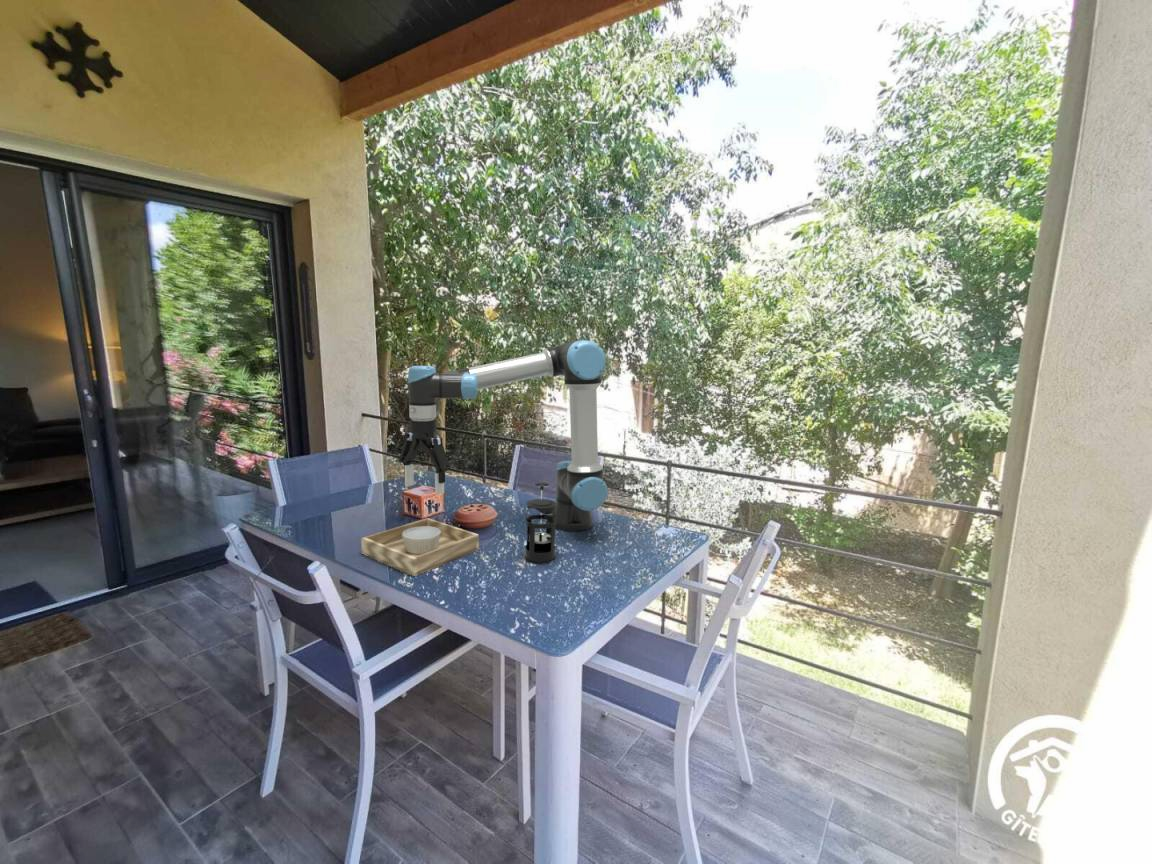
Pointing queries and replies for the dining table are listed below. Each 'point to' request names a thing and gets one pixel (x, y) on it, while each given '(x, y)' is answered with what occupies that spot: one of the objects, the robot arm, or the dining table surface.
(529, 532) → the french press
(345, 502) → the dining table surface
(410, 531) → the ramekin
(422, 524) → the pine tray
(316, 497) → the dining table surface
